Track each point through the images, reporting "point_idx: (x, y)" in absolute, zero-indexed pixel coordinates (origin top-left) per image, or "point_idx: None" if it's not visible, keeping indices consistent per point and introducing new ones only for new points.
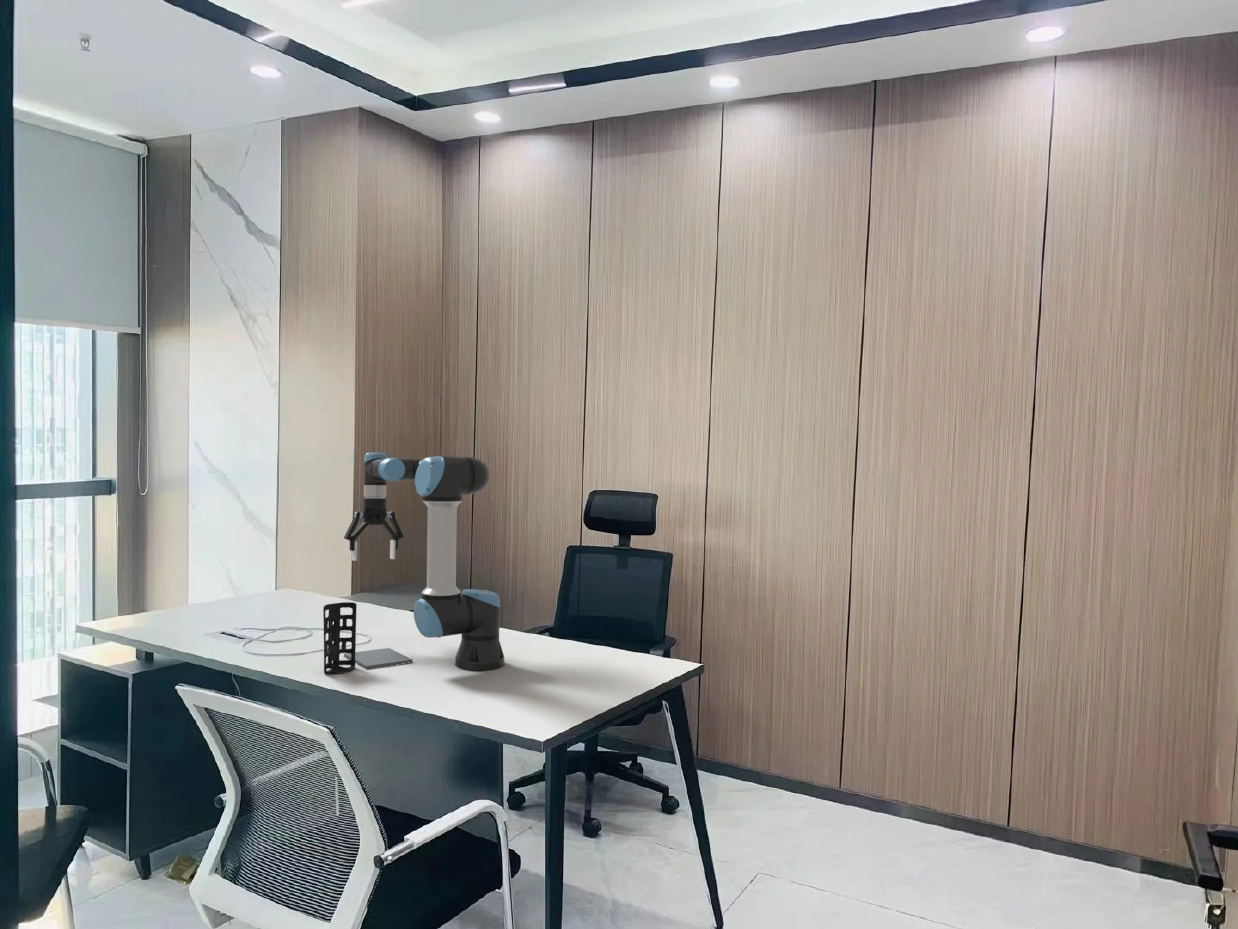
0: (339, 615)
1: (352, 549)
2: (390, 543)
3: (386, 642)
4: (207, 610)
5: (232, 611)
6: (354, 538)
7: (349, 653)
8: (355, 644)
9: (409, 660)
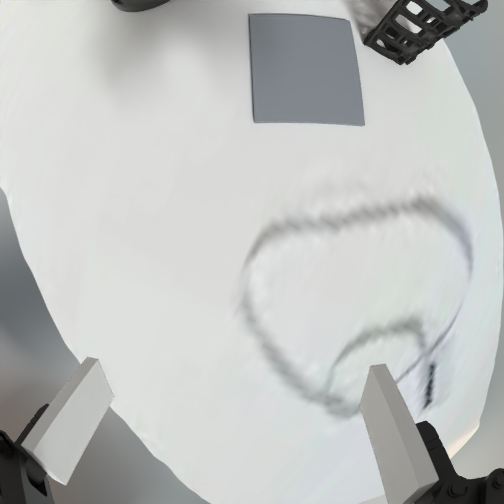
0: (444, 13)
1: (425, 429)
2: (73, 465)
3: (226, 210)
4: (366, 490)
5: (348, 487)
6: (451, 501)
7: (354, 119)
8: (380, 22)
9: (256, 15)
